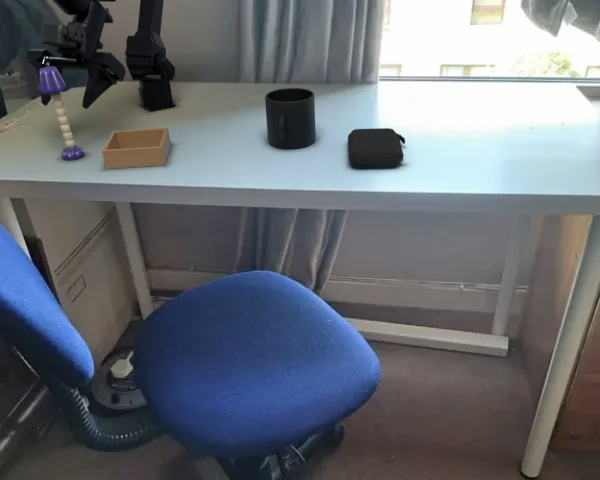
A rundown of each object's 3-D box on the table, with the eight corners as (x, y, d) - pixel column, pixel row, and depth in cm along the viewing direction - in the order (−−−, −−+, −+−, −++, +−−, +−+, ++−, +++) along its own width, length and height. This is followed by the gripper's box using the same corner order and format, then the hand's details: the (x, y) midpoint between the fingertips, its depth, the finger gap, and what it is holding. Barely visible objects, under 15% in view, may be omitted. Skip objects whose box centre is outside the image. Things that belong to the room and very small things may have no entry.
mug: (258, 153, 119) (254, 105, 113) (275, 131, 128) (272, 86, 123) (306, 155, 117) (304, 107, 111) (320, 133, 126) (319, 88, 121)
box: (116, 148, 124) (112, 131, 122) (170, 144, 124) (168, 127, 122) (106, 169, 115) (102, 151, 113) (165, 165, 115) (161, 147, 113)
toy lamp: (69, 163, 118) (46, 72, 109) (53, 158, 120) (29, 69, 111) (89, 154, 122) (67, 65, 112) (73, 150, 124) (51, 63, 114)
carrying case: (409, 170, 109) (402, 140, 121) (410, 153, 107) (403, 125, 119) (348, 171, 110) (347, 141, 122) (348, 154, 108) (347, 126, 120)
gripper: (16, 2, 114) (-7, 80, 112) (102, 4, 109) (79, 86, 106) (55, 38, 125) (34, 110, 123) (135, 41, 119) (115, 117, 117)
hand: (63, 106), depth 117 cm, fingers open, 9 cm apart
